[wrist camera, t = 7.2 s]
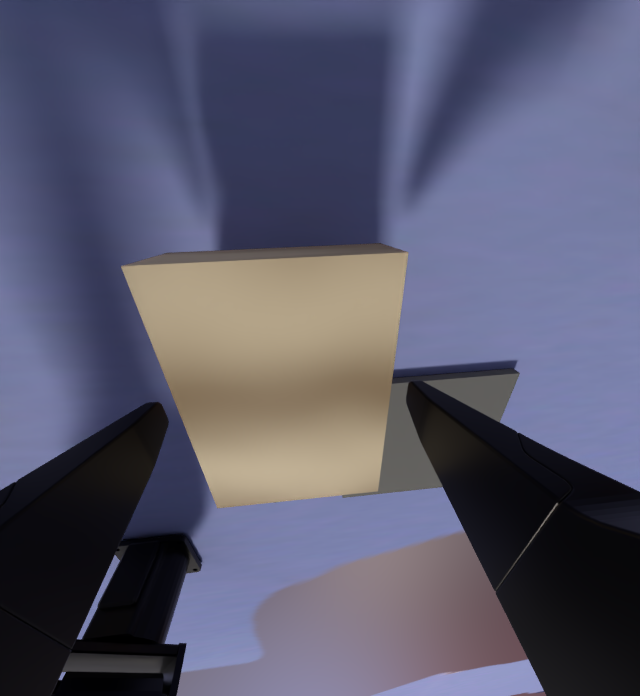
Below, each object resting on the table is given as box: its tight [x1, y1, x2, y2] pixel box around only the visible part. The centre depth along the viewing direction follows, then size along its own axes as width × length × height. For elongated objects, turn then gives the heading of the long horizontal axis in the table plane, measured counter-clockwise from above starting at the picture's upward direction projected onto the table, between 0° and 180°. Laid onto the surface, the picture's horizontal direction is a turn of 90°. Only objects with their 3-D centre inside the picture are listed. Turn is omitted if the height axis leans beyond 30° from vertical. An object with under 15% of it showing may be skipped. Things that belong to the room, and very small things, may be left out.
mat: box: [342, 369, 520, 498], centre depth 19 cm, size 12×12×1 cm
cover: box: [121, 243, 408, 508], centre depth 10 cm, size 10×7×2 cm
